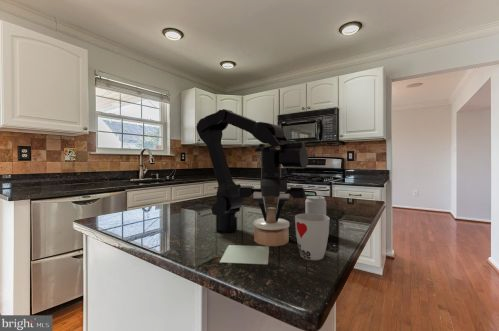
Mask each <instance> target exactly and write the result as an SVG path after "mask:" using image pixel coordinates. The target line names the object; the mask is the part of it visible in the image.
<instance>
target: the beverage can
mask: <svg viewBox="0 0 499 331" xmlns="http://www.w3.org/2000/svg"><path fill="white" fill-rule="evenodd" d="M304 210H305V212H304V213H313V214H321V215H325V216H327V200H326V198H325V196H321V195H308V196H306V199H305V209H304Z"/></svg>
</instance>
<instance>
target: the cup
mask: <svg viewBox="0 0 499 331" xmlns="http://www.w3.org/2000/svg"><path fill="white" fill-rule="evenodd" d="M330 220H331V219H330V217H329V216H328V215H326V216H325V215H321V214H313V213H305V212H304V213H298V214H295V215H294V221H295V222H294V223H295V224H294V226H295V236H296V241H297V247H298V251H299V254H300V257H301V258H303V259H305V260H308V261H309V260H310V261H319V260H322V259H323V258H324V256H325V253H326V251H327V250H326V249H327V245H328V238H329V235H330V234H329V232H330V231H329V230H330Z"/></svg>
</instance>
